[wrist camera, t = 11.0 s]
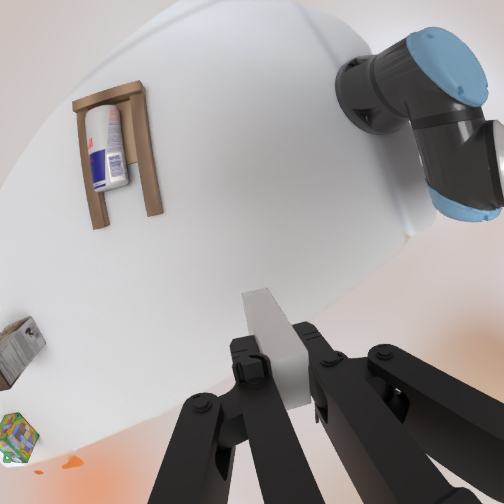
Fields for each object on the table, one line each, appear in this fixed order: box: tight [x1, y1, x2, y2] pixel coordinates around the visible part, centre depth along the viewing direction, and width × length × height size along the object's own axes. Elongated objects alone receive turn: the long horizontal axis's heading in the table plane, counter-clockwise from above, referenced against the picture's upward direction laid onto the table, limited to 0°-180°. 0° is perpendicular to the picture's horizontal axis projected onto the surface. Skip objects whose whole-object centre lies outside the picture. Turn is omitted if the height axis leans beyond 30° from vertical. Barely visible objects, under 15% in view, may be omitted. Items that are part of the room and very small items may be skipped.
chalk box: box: [0, 413, 39, 463], centre depth 39 cm, size 9×9×15 cm
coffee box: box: [0, 317, 46, 391], centre depth 34 cm, size 9×6×16 cm
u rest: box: [72, 80, 163, 230], centre depth 37 cm, size 11×20×4 cm, turn 9°
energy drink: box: [85, 105, 129, 192], centre depth 35 cm, size 5×5×12 cm
